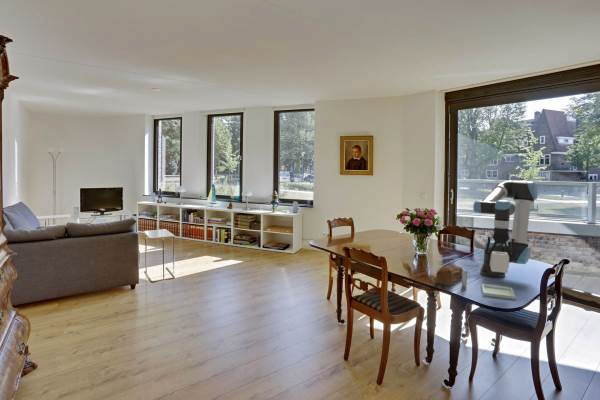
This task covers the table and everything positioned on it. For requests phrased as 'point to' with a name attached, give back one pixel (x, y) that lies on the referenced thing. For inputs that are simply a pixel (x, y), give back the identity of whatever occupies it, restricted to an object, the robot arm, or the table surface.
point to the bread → (449, 275)
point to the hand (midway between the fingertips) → (499, 266)
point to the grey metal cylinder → (464, 280)
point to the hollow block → (499, 262)
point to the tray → (498, 291)
